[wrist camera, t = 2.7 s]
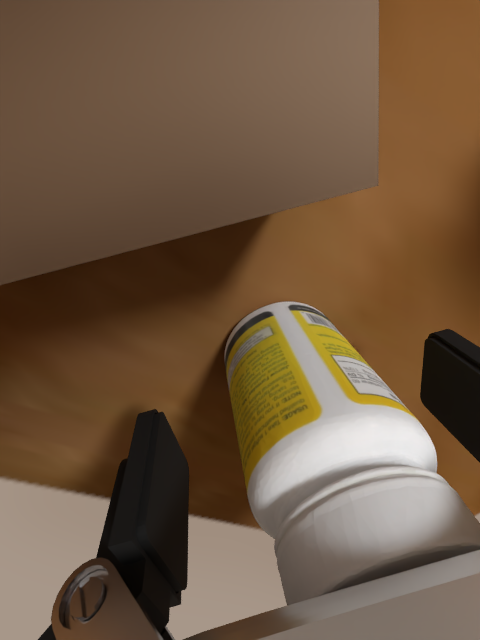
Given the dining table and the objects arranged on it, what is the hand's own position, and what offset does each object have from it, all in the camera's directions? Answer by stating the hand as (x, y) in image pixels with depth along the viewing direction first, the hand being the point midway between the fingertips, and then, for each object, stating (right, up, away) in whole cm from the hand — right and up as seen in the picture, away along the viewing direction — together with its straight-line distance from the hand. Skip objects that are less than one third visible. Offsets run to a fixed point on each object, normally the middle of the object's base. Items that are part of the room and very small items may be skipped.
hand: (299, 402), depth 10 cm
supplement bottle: (0, +2, +2) cm, 3 cm away
